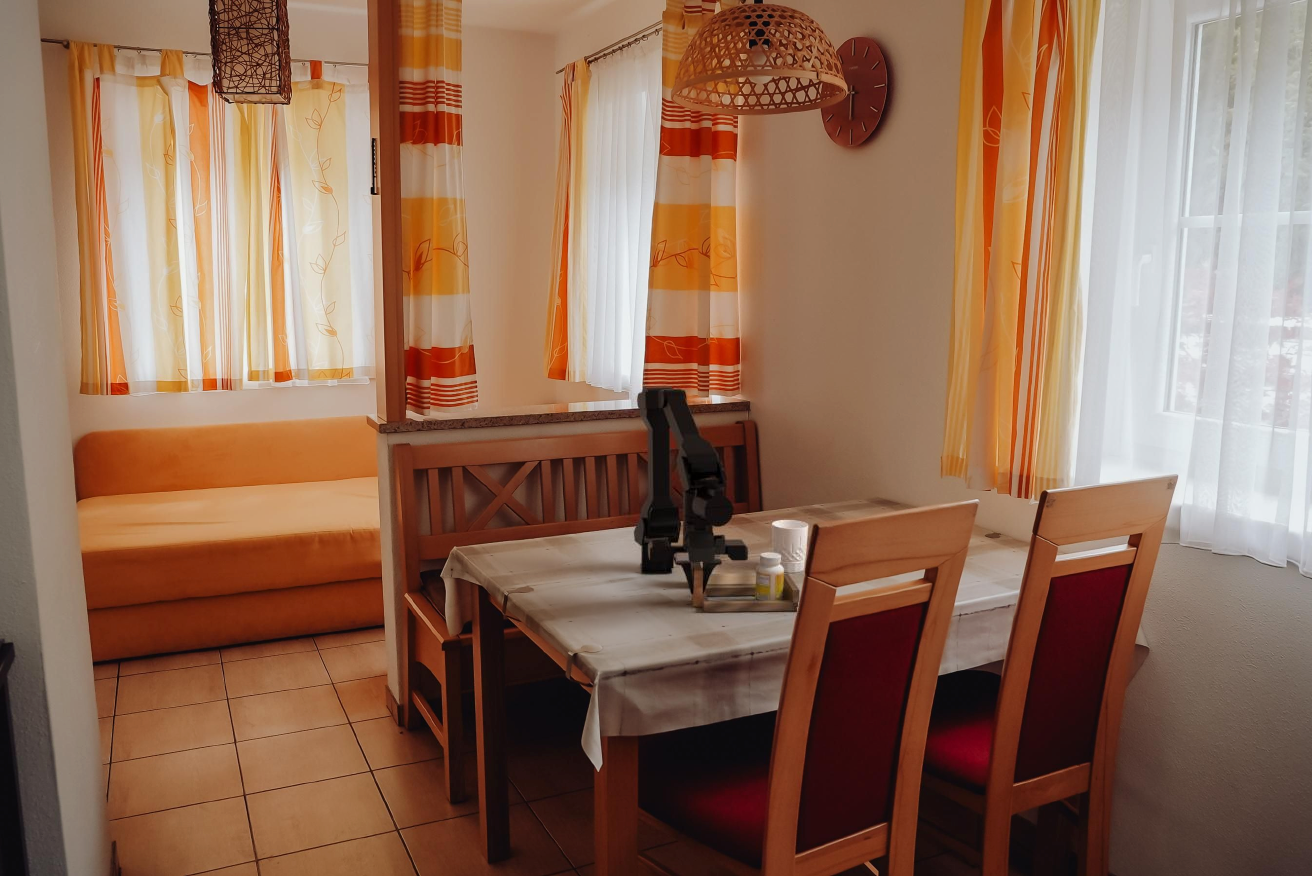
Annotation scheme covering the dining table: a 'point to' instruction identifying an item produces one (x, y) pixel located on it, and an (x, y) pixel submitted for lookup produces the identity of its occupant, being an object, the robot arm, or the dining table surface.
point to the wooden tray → (719, 606)
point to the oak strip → (731, 579)
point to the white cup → (790, 544)
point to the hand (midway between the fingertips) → (696, 593)
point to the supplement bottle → (769, 578)
